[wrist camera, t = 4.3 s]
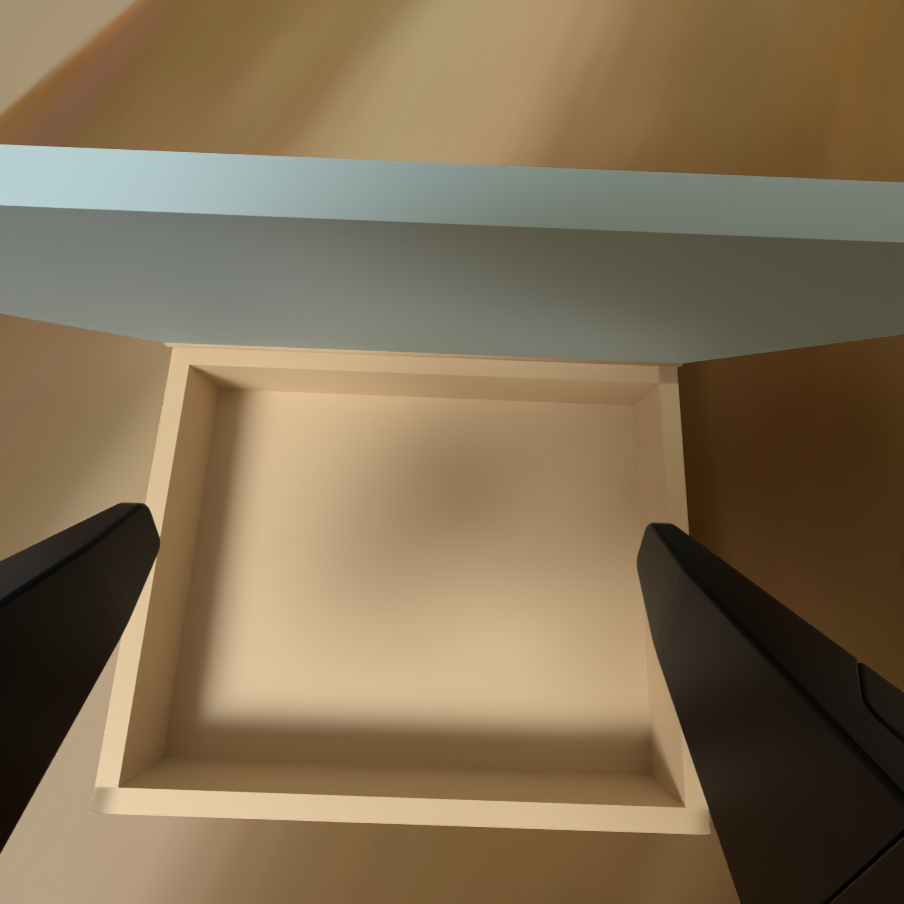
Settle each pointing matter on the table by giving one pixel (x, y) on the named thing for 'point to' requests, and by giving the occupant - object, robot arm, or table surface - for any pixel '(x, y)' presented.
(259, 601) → the wooden tray
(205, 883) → the table surface
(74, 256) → the lid
